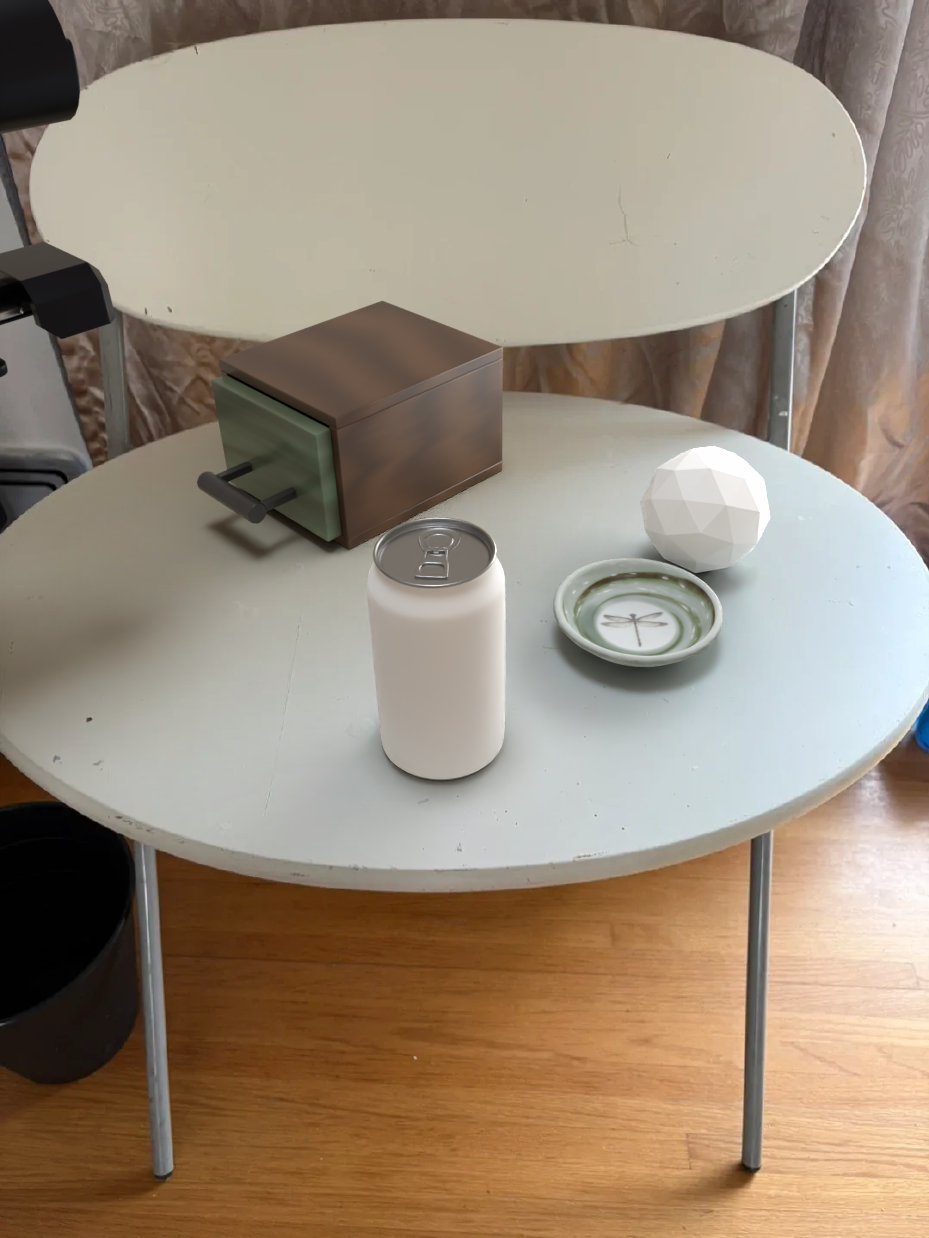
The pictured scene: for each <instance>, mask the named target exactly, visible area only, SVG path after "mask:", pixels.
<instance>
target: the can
mask: <svg viewBox="0 0 929 1238" xmlns="http://www.w3.org/2000/svg"><path fill="white" fill-rule="evenodd" d="M372 550H373V551H372V559H373V562H372V563H371V565H370V568H369V571H368V574H367V578H366V594H367V595H366V597H367V607H368V619H369V630H370V640H371V651H372V661H373V673H374V682H375V692H376V693H375V695H376V700H377V701H376V703H377V713H378V721H379V723H378V724H379V731H380V733H379V734H380V739H381V745H382V748H383V751H384V753H385V755H386V756H387V758H388V759H389V760H390V761H391V762H392V763H393V764H394V765H395V766H397V768H399V769H401V770H403V771H404V772H406V773H408V774H410V775H412V776H414V777H417V778H419V779H424V780H430V781H452V780H458V779H462V778H465V777H468V776H471V775H473V774H475V773H476V772H479V771H480V770H482V769H483V768H485V767H486V766H487V765H489V764H490V763H491V762H492V761H493V760H494V759H495V758H496V757H497V756H498V754H499V753H500V751H501V749H502V747H503V744H504V740H505V731H506V730H505V726H506V725H505V724H506V612H507V611H506V576H505V571H504V568H503V566H502V563H501V561H500V560H499V559H498V556H497V545H496V543H495V540H494V538H493V537H492V536H491V534H490V533H489V532H487V531H486V530H485V529H483V528H482V527H480V526H479V525H477V524H474V523H472V522H470V521H467V520H463V519H460V518H452V517H445V516H443V517H442V516H434V517H433V516H431V517H423V518H422V517H421V518H416V519H412V520H408V521H404V522H401V523H399V524H397V525H396V526H394V527H392V528H390V529H388V530H386V531H385V532H383V534H382V535H381V536H379V538H378V540H377V541H376V542H375V543H374V547H373V549H372Z"/></svg>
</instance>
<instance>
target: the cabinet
mask: <svg viewBox="0 0 929 1238" xmlns="http://www.w3.org/2000/svg"><path fill="white" fill-rule="evenodd" d="M218 363H219V369H220V375H221V376H223V375H227V376H229V377H231V378H233V379H235V380H237V381H238V382H240V383H242V384H244V385H246V386H248V387H250V385H251V386H253V387H255V388H257V389H259V390H261V391H263V392H265V393H267V394H269V395H270V396H272V397H274V398H276V399H278V400H280V401H282V402H284V403H286V404H288V405H290V406H292V407H294V408H296V409H298V410H300V411H302V412H304V413H305V414H307V415H309V416H311V417H313V418H315V419H317V420H319V421H321V422H323V423H325V424H327V425H329V429H330V432H331V441H332V450H333V459H334V469H335V478H336V487H337V497H338V506H339V515H340V524H341V535H340V536H339V537H337V538H335V539H333V541H335V542H337V544H339V545H341V546H343V547H344V548H346V549H348V550H352V549H353V548H355V547H357V546H359V545H361V544H362V543H365V542H366V541H367V542H368V541H369V540H371V539H372V538H374V537H377V536H379V535H380V534H382V533H385V532H387V531H388V530H390V529H391V528H393V527H395V526H397V525H400V524H402V523H404V522H406V521H407V520H410V519H411V518H413V517H414V516H417V515H419V514H420V513H422V512H424V511H426V510H428V509H430V508H433V507H434V506H436V505H439V504H440V503H442V502H444V501H447V500H448V499H450V498H452V497H453V496H455V495H457V494H459V493H462V492H463V491H465V490H467V489H469V488H471V487H473V486H475V485H477V484H479V483H480V482H482V481H485V480H486V479H488V478H490V477H492V476H494V475H496V474H498V473H500V472H501V471H503V412H504V411H503V408H504V407H503V406H504V405H503V401H504V400H503V399H504V398H503V396H504V395H503V391H504V389H503V387H504V385H503V382H504V381H503V380H504V379H503V378H504V373H503V371H504V348H503V346H501V345H499V344H496V343H493V342H490V341H488V340H485V339H483V338H481V337H478V336H475V335H473V334H470V333H467V332H465V331H462V330H459V329H457V328H454V327H451V326H449V325H446V324H444V323H442V322H439V321H436V320H434V319H431V318H428V317H426V316H424V315H421V314H418V313H415V312H413V311H411V310H408V309H405V308H404V307H401V306H397V305H396V304H393V303H389V302H387V301H384V300H380V301H377V302H374V303H371V304H369V305H366V306H364V307H361V308H358V309H355V310H351V311H349V312H346V313H344V314H341V315H338V316H336V317H333V318H330V319H327V320H323V321H321V322H319V323H316V324H313V325H311V326H307V327H304V328H302V329H299V330H296V331H293V332H291V333H287V334H284V335H283V336H279V337H277V338H275V339H272V340H268V341H266V342H263V343H260V344H257V345H255V346H252V347H249V348H246V349H243V350H241V351H238V352H235V353H232V354H229V355H226V356H224V357H221V358H219V359H218Z"/></svg>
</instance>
